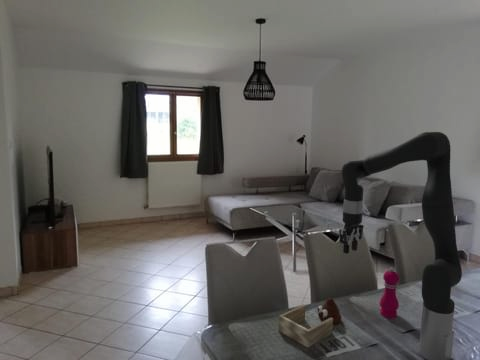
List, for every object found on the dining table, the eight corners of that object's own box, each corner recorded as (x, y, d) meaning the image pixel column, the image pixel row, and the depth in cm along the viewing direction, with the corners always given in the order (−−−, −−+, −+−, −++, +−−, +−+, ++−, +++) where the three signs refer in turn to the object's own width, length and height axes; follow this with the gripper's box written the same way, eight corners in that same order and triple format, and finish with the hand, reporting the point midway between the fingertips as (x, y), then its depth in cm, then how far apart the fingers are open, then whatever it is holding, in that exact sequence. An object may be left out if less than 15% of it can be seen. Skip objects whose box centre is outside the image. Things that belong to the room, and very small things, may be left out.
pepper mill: (399, 319, 156) (403, 272, 152) (380, 317, 157) (383, 270, 154) (396, 311, 163) (399, 265, 159) (377, 309, 164) (381, 263, 161)
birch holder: (332, 333, 145) (333, 318, 144) (307, 347, 136) (308, 331, 135) (302, 318, 156) (303, 304, 155) (278, 330, 147) (278, 315, 146)
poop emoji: (345, 324, 152) (347, 301, 151) (326, 327, 150) (327, 304, 148) (332, 312, 161) (333, 290, 160) (313, 315, 159) (314, 293, 157)
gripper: (350, 215, 149) (347, 258, 152) (371, 209, 158) (368, 250, 161) (334, 211, 154) (331, 253, 157) (354, 206, 164) (352, 245, 166)
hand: (350, 251), depth 159 cm, fingers open, 5 cm apart
